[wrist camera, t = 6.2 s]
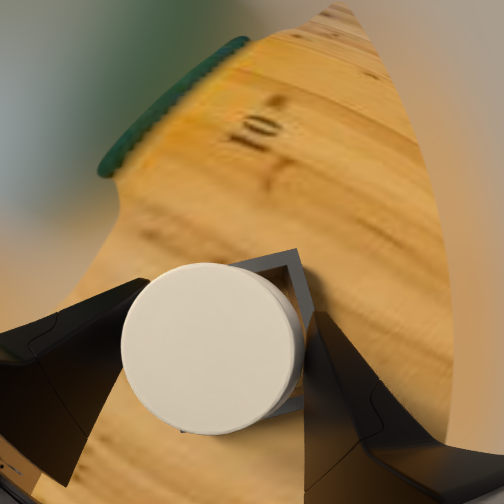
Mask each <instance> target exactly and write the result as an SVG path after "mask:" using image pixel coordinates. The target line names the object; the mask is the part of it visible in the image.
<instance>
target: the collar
mask: <svg viewBox="0 0 504 504" xmlns="http://www.w3.org/2000/svg"><path fill="white" fill-rule="evenodd" d="M228 266H233V267H238V268H242V269H245V270H248V271H251V272H253V273H256V274H258V275H260V276H262V277H263V278H265V279H268V278H272V277H276V276H280V275H283V276H284V280H285V283H286V287H287V290H288V294H289V298H290V301H291V305H292V306H293V308H294V310H295V311H296V313H297V316H298V318H299V321H300V323H301V327H302V331H303V335H304V342H305V344H306V333H307V329H308V325H309V322H310V319H311V316H312V313H313V311H314V310H315V309H314V305H313V302H312V298H311V295H310V291H309V288H308V284H307V281H306V277H305V274H304V271H303V267H302V264H301V261H300V257H299V254H298V251H297V248H295V249H291V250H287V251H283V252H279V253H274V254H270V255H266V256H262V257H258V258H254V259H250V260H245V261H241V262H237V263H233V264H229V265H228ZM300 409H304V394H303V386H302V387H299V388H295V389H294V390H293V391H292V393H291V394H290V396H289V397H288V399H287V400H286V401H285V402H284V403H283V404H282V405H281V406H280V407H279V408H278V409H277V410H275V411H274V412H273V413H271V414H270V415H268V416H267V417H265V418H263V419H266V418H270V417H274V416H278V415H282V414H286V413H290V412H293V411H297V410H300ZM180 431H181V433H185V431H182V430H180Z"/></svg>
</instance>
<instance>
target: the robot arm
mask: <svg viewBox="0 0 504 504" xmlns="http://www.w3.org/2000/svg"><path fill="white" fill-rule="evenodd" d="M150 283H151V282H150V280H148V279H144V278H137V279H134V280H132V281H129V282H127V283H125V284H122V285H120V286H117V287H115V288H113V289H110V290H108V291H105V292H103V293H101V294H98V295H96V296H94V297H91V298H89V299H86V300H84V301H82V302H79V303H77V304H75V305H72V306H70V307H68V308H65V309H63V310H61V311H59V313H58V312H56V313H54V314H51V315H49V316H47V317H44V318H42V319H39V320H37V321H35V322H32V323H29V324H26V325H23V326H20V327H18V328H15V329H12V330H9V331H6V332H3V333H0V504H42V503H41V502H39V501H38V500H36V499H35V498H33V497H32V496H31V494H32V492H33V490H34V487H35V485H36V484H37V482H38V480H39V478H40V476H41V474H42V473H44V474H45V475H47V476H48V477H50V478H51V479H53V480H54V481H56V482H57V483H59V484H61V485H62V486H64V487H67V485H68V483H69V481H70V479H71V476H72V474H73V471H74V469H75V467H76V464H77V462H78V460H79V458H80V455H81V453H82V451H83V449H84V446H85V444H86V442H87V440H88V439H87V438H88V437H89V435H90V433H91V431H92V429H93V426H94V424H95V422H96V420H97V418H98V416H99V414H100V412H101V410H102V408H103V406H104V404H105V402H106V400H107V398H108V396H109V394H110V392H111V390H112V388H113V386H114V384H115V382H116V380H117V378H118V376H119V374H120V372H121V370H122V368H123V362H122V355H121V338H122V331H123V326H124V323H125V320H126V317H127V314H128V312H129V310H130V308H131V306H132V304H133V302H134V301H135V299H136V298H137V297H138V295H139V294H140V293H141V292H142V291H143V289H144V288H145V287H146V286H147V285H148V284H150ZM303 394H304V443H305V474H304V492H305V493H304V504H504V455H496V454H490V453H483V452H477V451H471V450H466V449H461V448H456V447H451V446H447V445H445V444H442V443H440V442H439V441H437V440H436V439H434V438H433V437H432V436H431V435H430V434H429V433H428V432H427V431H426V430H425V429H424V428H423V427H422V426H421V425H420V424H419V423H418V422H417V421H416V419H415V418H414V417H413V416H412V415H411V414H410V413H409V412H408V411H407V410H406V409H405V408H404V407H403V406H402V405H401V404H400V403H399V401H398V400H397V399H396V398H395V397H394V396H393V394H392V393H391V392H390V391H389V390H388V388H387V387H386V386H385V385H384V383H383V382H382V381H381V380H379V377H378V376H377V375H376V373H375V372H374V371H373V369H372V368H371V367H370V366H369V364H368V363H367V362H366V361H365V359H364V358H363V357H362V356H361V354H360V353H359V352H358V351H357V349H356V348H355V347H354V346H353V344H352V343H351V342H350V341H349V339H348V338H347V337H346V336H345V334H344V333H343V332H342V331H341V329H340V328H339V327H338V326H337V324H336V323H335V322H334V321H333V319H332V318H331V317H330V316H329V315H328V313H327V312H325V311H319V310H314V311H313V313H312V316H311V319H310V322H309V325H308V329H307V333H306V344H305V357H304V367H303Z"/></svg>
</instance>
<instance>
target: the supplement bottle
mask: <svg viewBox="0 0 504 504" xmlns="http://www.w3.org/2000/svg"><path fill="white" fill-rule="evenodd" d="M121 355H122V362H123V367H124V370H125V374H126V377H127V379H128V382H129V384H130V386H131V388H132V390H133V391H134V393H135V395H136V396H137V397H138V399H139V400H140V401H141V403H142V404H143V405H144V406H145V407H146V408H147V409H148V410H149V411H150V412H151V413H152V414H153V415H155V416H156V417H157V418H159V419H160V420H162V421H163V422H165V423H167V424H168V425H170V426H172V427H175V428H177V429H179V430H182V431H185V432H189V433H193V434H199V435H222V434H228V433H232V432H236V431H239V430H242V429H244V428H247V427H249V426H251V425H252V424H254V423H256V422H257V421H259V420H262V419H263V418H265V417H267V416H268V415H270V414H271V413H273V412H274V411H275V410H277V409H278V408H279V407H280V406H281V405H282V404H283V403H284V402H285V401H286V400H287V399H288V397H289V396H290V394H291V393H292V391H293V390H294V388H295V386H296V384H297V382H298V380H299V378H300V375H301V372H302V368H303V364H304V357H305V342H304V335H303V331H302V327H301V323H300V321H299V318H298V316H297V313H296V311H295V310H294V308H293V306H292V305H291V303H290V302H289V300H288V299H287V298H286V296H285V295H284V294H283V293H282V292H281V291H280V290H279V289H278V288H277V287H276V286H275V285H274V284H272V283H271V282H270V281H268V280H266V279H265V278H263V277H262V276H260V275H258V274H256V273H253V272H251V271H248V270H245V269H242V268H238V267H233V266H228V265H222V264H216V263H195V264H189V265H184V266H181V267H177V268H175V269H172V270H170V271H168V272H166V273H164V274H162V275H161V276H159V277H158V278H156V279H155V280H153V281H152V282H151V283H150V284H148V285H147V286H146V287H145V288H144V289H143V291H142V292H141V293H140V294H139V295H138V297H137V298H136V299H135V301H134V302H133V304H132V306H131V308H130V310H129V312H128V314H127V317H126V320H125V323H124V326H123V331H122V338H121Z"/></svg>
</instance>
